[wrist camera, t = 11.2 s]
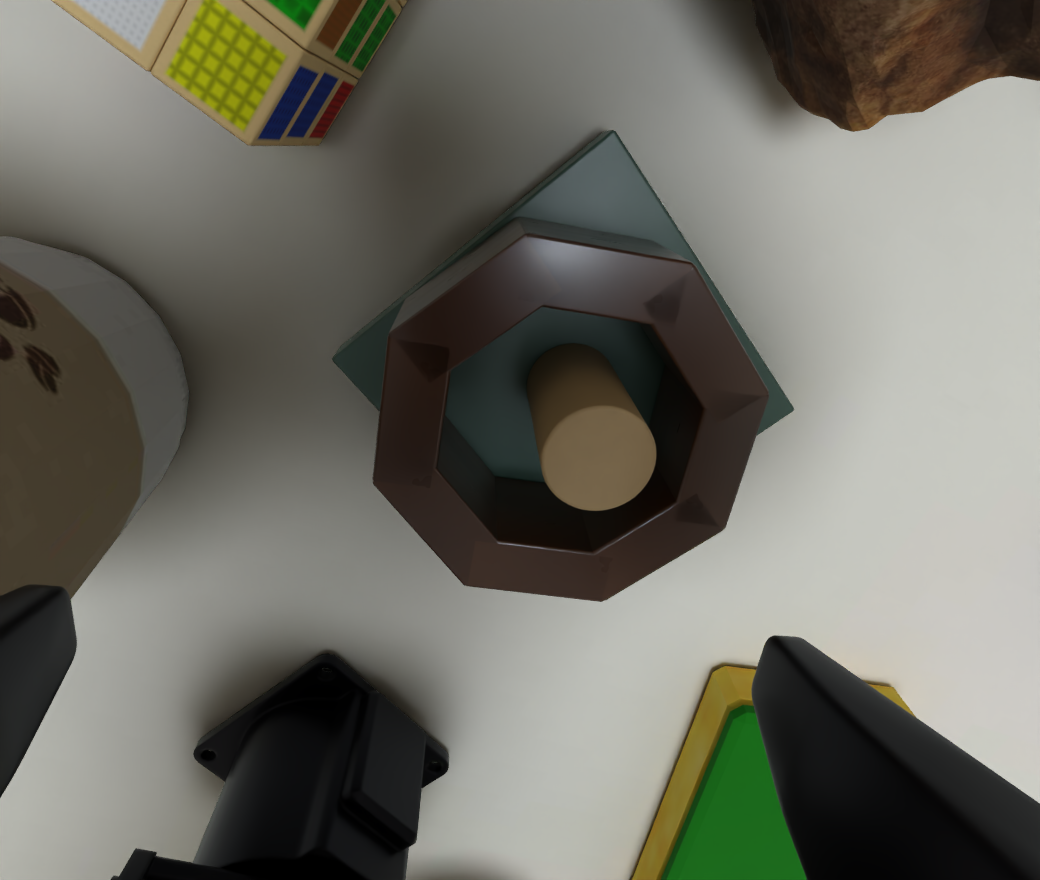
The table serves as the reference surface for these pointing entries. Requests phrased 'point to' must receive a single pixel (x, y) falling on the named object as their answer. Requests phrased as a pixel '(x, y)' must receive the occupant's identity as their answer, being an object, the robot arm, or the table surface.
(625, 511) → the ring
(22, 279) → the coffee cup
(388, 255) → the table surface
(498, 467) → the peg stand
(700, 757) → the dish sponge
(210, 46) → the rubik's cube
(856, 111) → the brown rounded block
